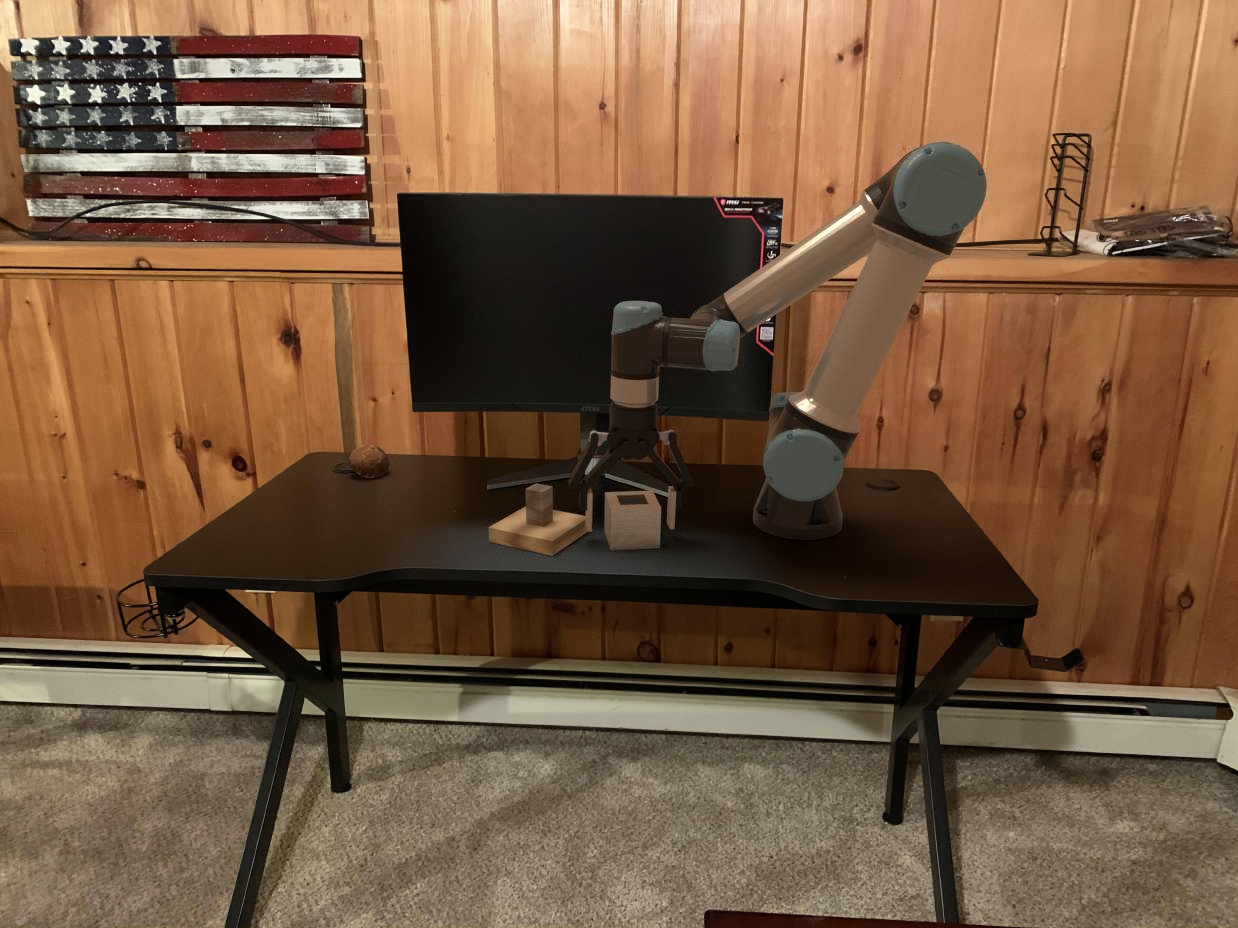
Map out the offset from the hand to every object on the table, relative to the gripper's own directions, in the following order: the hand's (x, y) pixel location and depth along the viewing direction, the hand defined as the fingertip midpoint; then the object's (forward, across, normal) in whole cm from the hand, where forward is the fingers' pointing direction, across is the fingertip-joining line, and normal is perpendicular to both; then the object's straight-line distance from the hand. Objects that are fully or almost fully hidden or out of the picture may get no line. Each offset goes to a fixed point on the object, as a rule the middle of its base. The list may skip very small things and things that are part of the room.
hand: (629, 527), depth 151 cm
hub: (+2, 0, 0) cm, 2 cm away
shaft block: (+2, +15, -3) cm, 15 cm away
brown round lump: (+3, +46, -38) cm, 60 cm away
